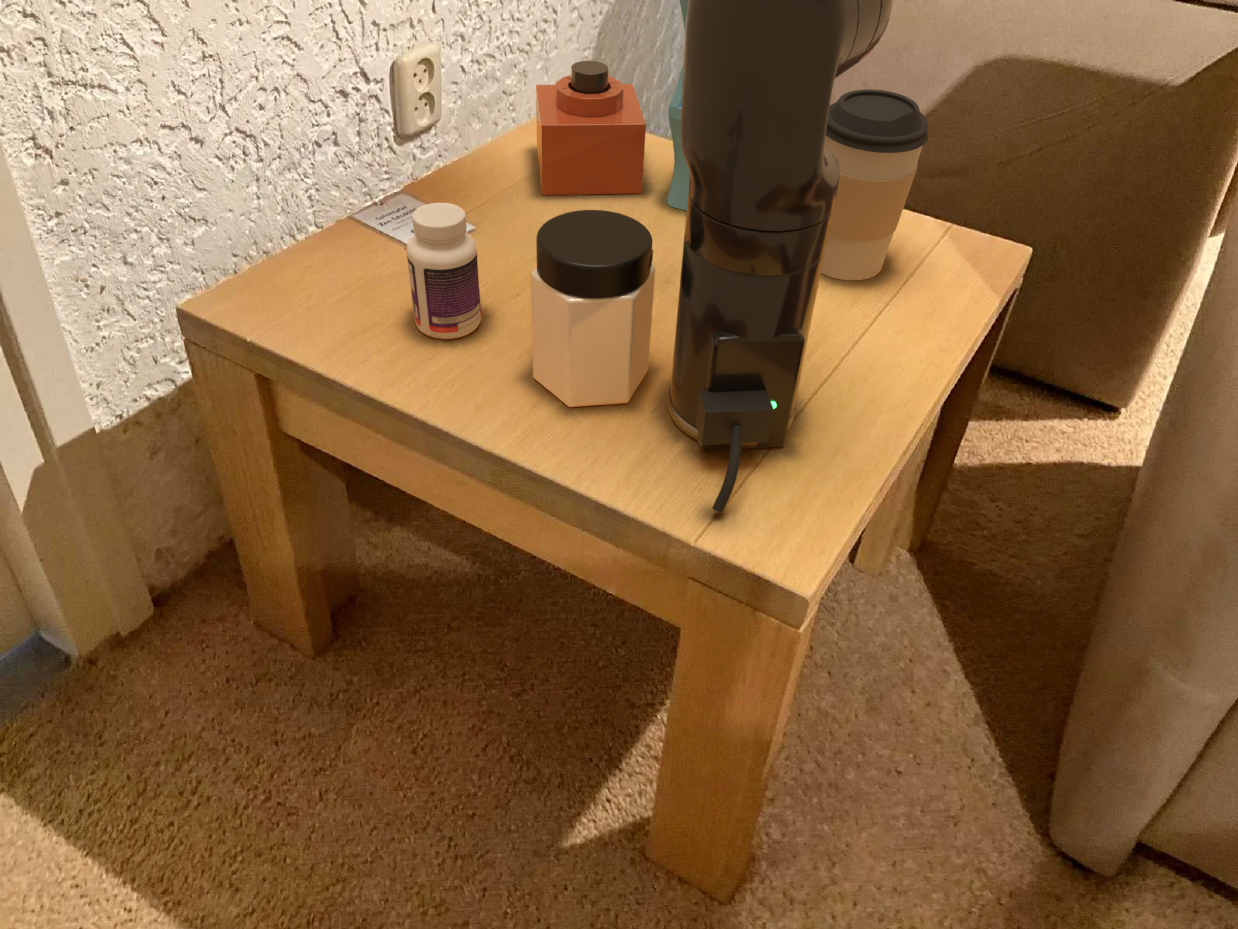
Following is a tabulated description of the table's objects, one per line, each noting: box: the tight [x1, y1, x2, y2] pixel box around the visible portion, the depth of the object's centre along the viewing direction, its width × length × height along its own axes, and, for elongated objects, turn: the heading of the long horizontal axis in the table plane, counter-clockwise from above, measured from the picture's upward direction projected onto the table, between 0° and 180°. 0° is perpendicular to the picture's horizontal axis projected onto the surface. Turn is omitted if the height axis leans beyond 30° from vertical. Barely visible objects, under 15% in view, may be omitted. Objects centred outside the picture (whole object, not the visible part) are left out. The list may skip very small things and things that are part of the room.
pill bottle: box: [406, 202, 482, 340], centre depth 79 cm, size 5×5×10 cm
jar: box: [530, 209, 656, 408], centre depth 73 cm, size 9×8×12 cm
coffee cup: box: [821, 88, 929, 281], centre depth 87 cm, size 9×9×15 cm
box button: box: [570, 60, 609, 94], centre depth 97 cm, size 4×4×2 cm
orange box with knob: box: [535, 74, 647, 196], centre depth 100 cm, size 10×10×9 cm
